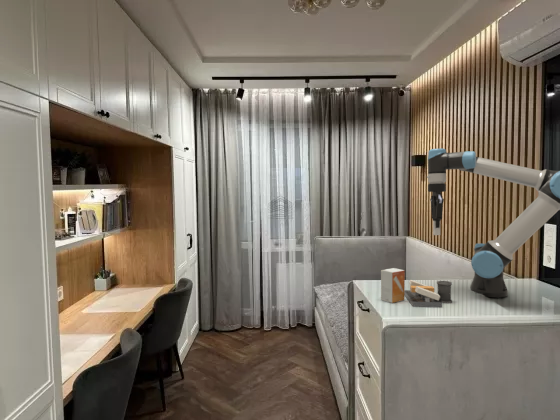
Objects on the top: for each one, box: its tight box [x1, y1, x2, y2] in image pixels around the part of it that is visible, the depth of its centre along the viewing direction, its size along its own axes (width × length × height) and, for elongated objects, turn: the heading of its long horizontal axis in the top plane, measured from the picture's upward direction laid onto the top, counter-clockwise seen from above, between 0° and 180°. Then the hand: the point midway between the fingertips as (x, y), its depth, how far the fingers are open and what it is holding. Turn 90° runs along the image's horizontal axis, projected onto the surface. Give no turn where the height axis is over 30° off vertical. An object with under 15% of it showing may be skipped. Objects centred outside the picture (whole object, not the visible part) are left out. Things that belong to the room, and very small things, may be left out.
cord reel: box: [436, 280, 453, 304], centre depth 158 cm, size 6×6×8 cm
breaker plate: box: [404, 289, 443, 308], centre depth 159 cm, size 11×18×4 cm, turn 173°
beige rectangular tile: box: [415, 286, 440, 301], centre depth 153 cm, size 9×3×2 cm, turn 83°
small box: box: [380, 267, 406, 304], centre depth 160 cm, size 8×6×13 cm
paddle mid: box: [409, 285, 435, 293], centre depth 159 cm, size 9×3×2 cm, turn 83°
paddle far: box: [408, 279, 428, 287], centre depth 165 cm, size 9×3×2 cm, turn 82°
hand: (436, 234), depth 172 cm, fingers closed
